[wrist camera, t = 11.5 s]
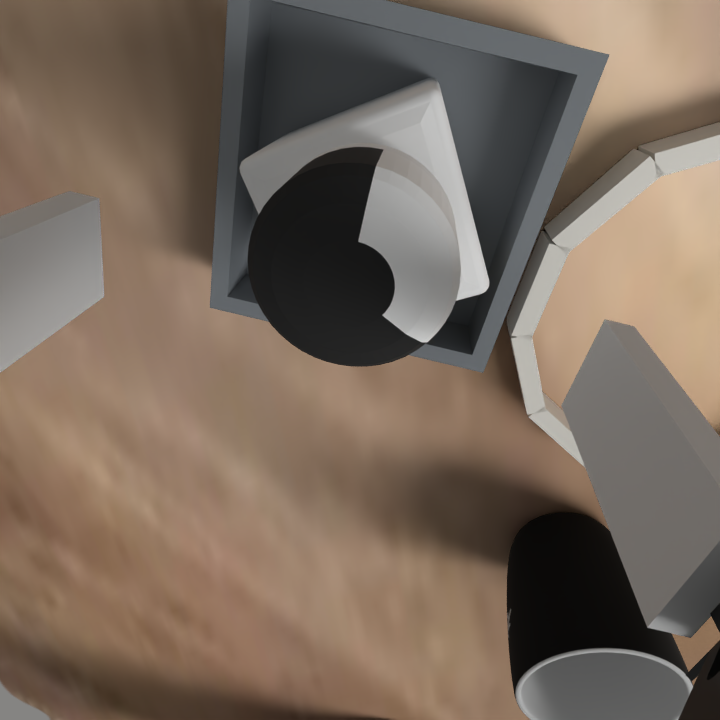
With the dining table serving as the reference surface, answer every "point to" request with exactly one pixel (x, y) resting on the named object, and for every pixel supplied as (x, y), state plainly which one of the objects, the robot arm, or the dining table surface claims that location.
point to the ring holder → (570, 232)
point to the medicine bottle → (363, 229)
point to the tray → (385, 75)
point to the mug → (584, 630)
